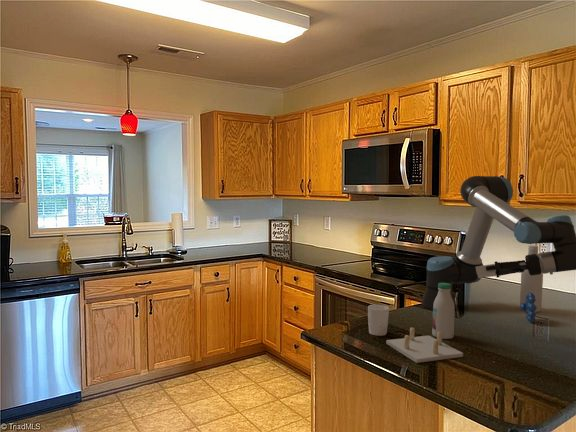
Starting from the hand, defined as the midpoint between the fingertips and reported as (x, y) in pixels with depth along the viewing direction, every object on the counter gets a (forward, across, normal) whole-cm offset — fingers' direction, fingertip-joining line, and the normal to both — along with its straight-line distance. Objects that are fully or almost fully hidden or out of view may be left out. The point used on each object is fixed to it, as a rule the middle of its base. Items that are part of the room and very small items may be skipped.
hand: (476, 272), depth 164 cm
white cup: (+39, -10, -19) cm, 44 cm away
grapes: (-15, +35, -19) cm, 42 cm away
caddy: (+22, -19, -26) cm, 39 cm away
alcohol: (-19, +55, -14) cm, 59 cm away
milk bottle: (+16, -2, -22) cm, 28 cm away
